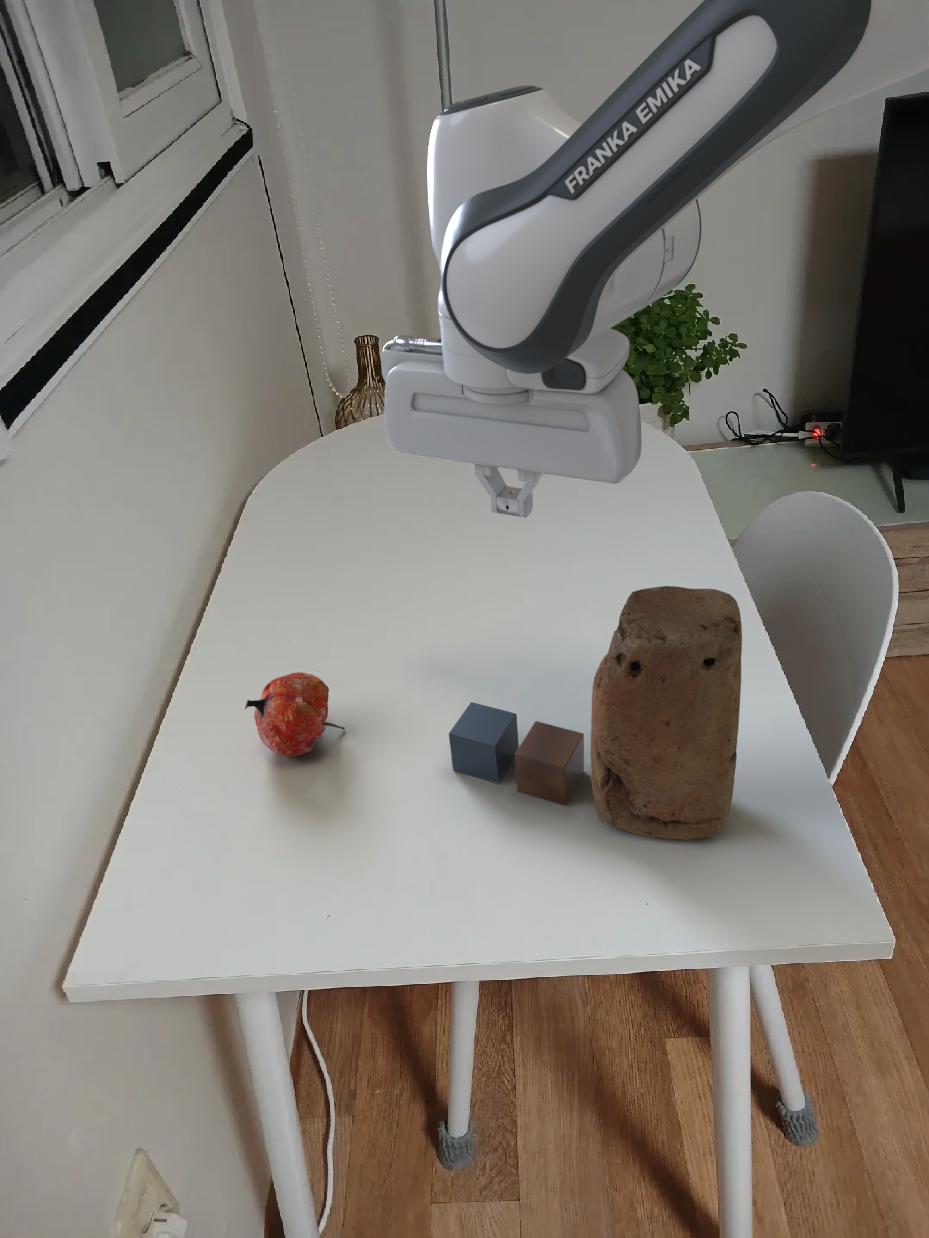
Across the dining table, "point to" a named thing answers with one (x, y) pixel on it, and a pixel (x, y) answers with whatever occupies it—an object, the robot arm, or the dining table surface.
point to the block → (668, 714)
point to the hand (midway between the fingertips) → (512, 512)
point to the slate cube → (484, 742)
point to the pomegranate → (292, 713)
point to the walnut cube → (550, 762)
